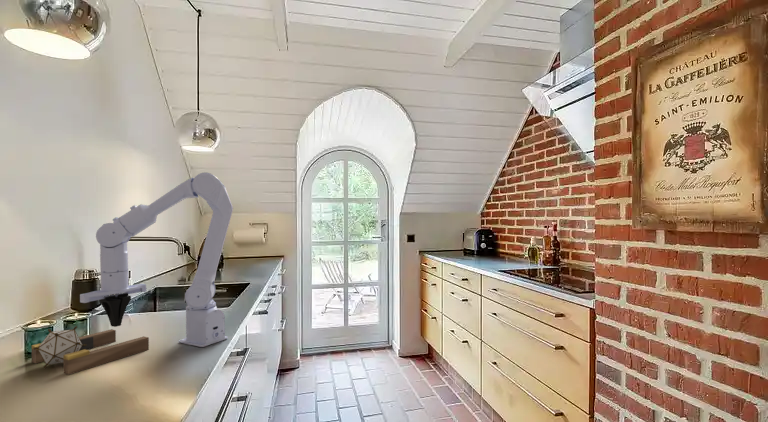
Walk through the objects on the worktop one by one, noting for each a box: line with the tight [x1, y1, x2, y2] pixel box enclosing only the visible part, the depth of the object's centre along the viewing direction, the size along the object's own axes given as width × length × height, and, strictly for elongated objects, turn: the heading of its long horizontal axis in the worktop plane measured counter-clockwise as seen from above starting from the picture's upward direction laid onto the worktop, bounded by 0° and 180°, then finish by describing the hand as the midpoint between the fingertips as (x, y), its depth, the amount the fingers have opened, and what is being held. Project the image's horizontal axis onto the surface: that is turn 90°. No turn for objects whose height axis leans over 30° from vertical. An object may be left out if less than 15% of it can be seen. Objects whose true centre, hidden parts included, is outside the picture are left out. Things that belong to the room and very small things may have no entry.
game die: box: [33, 325, 86, 369], centre depth 89 cm, size 9×8×10 cm
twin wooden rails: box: [31, 329, 150, 375], centre depth 94 cm, size 16×17×4 cm
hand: (115, 325), depth 99 cm, fingers closed
